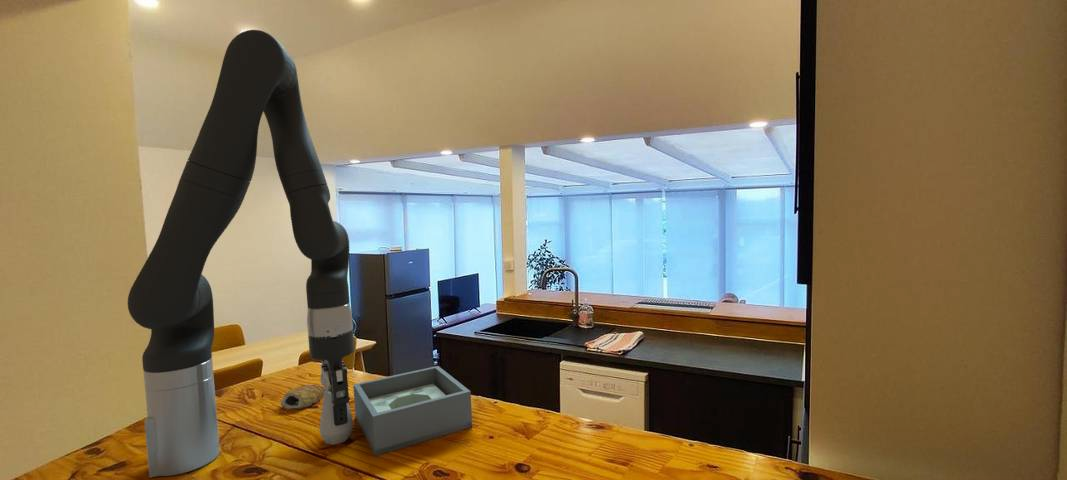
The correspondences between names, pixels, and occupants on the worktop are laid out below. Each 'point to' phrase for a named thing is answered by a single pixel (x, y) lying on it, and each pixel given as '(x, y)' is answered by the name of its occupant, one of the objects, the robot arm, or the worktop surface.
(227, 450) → the worktop surface
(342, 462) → the worktop surface
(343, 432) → the salt shaker
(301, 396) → the ridged seashell
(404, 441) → the bore box
